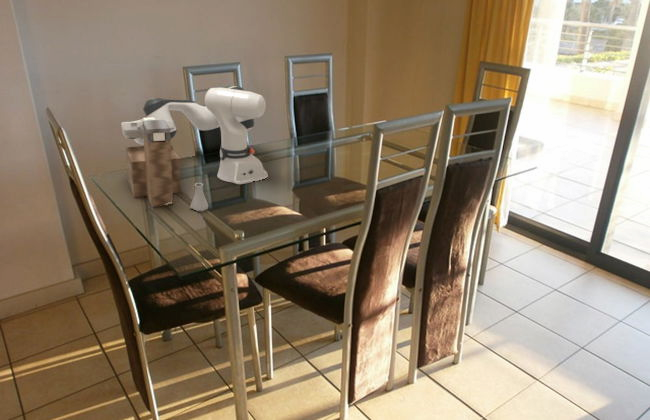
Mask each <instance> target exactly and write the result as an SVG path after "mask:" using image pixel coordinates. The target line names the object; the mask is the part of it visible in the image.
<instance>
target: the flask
mask: <svg viewBox="0 0 650 420" xmlns="http://www.w3.org/2000/svg"><path fill="white" fill-rule="evenodd" d="M194 187H195V188H194V189H195V191H194V195H193V197H192V200H191V202H190V206H189V209H190V208H193V209H194V210H196V211H195V212H204V211H206V210H208V209H209V203H208V202H207V201H208V200H207V199H206V196H205V194H204V190H203V187H204V184H203V183H201V182H196V183H194ZM194 210H193V211H194Z"/></svg>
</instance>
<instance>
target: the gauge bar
mask: <svg viewBox="0 0 650 420" xmlns="http://www.w3.org/2000/svg"><path fill="white" fill-rule="evenodd" d="M142 119H143V121H149V120H155V118H154V117H152V118H147V117H143V118H142ZM152 135H153V141H163V140H165V133H152Z"/></svg>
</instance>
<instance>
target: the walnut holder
mask: <svg viewBox="0 0 650 420" xmlns="http://www.w3.org/2000/svg"><path fill="white" fill-rule="evenodd" d="M143 131H144V134H143V136H144V145H140V146H125V156H126V171H127V182H128V184H129V187H130V190H131V192H132V196H133V198H140V197H147V199H148V201H149V203H150V206H151V208H153V207H155V208H156V207H163V205H164V204H166V203H168V202H171V201H173V200H174V196H173V194H179V193H181V179H180V177H181V176H180V175H181V174H180V173H181V172H180V168H181V167H180V157H179V155H178V154H177V153H176V151H175V149H174V147H173V146H172V143H171V139H170V127H169V126H168V124H167V123H166V121H165V120H149V121H143ZM152 133H165V140H163V141H153V135H152Z"/></svg>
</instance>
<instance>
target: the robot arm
mask: <svg viewBox="0 0 650 420" xmlns="http://www.w3.org/2000/svg"><path fill="white" fill-rule="evenodd" d="M204 104H205V106H204V105H200V104H198V103H197V102H196V101H194V100H187V99H170V98H169V99H165V98H162V97H160V98H159V97H157V98H156V97H155V98H150V99H148V100H146V101H145V103H144V105H143V109H142V110H143V112H144V114H145V116H146V118H152V117H154V118H155V120H165V121H166V123H167V124H168V126H169V127H170V140H172V139H173V138H174V137H175V136H176V134H177V132H178V131H177V127H176V124H175V121H174V120H173V117H172V116H171V112H170V111H179V112H181V113H183V114H184V115H185V117H186V118H187V119H188V120H189V121H190V123H191V125H192V126H193V127H195V128H196V129H197V130H199V131H210V130H214V129H218V128H219V129H220V136H221V137H220V139H221V144H220V145H219V146H220V149H219V157H220V162H219V168H218V171H217V175H216V176H217V178H218V179H219V180H221V181H224V182H227V183H233V184H236V185H243V184H249V183H250V184H251V183H254V182H253V181H255V182H259V180H260V181H263V180H262V179H265V178H267V177H268V178H269V175H268V174H269V173H268V171H266V170H265V168H264V167H263V166H264V165H263V162H261V161H260V159H259V158H258V157H256V156H255V155H254V154H255V152H256V151H255V150H254V149H253V148H252V147H251V146H250V145H248V132H249V131H250V130H252V129H253V128H254V126H255V120H254V119H259V118H262V116H263V115H264V114H265V112H266V107H267V106H266V105H267V103H266V100H265V98H264V96H263V95H262V94H258V93H256V92H253V91H249V90H246V89H244V88H243V87H241V86H239V85H238V86H235V85H234V86H233V85H232V86H229V87H211V88H209V89H208V90H207V91H206V93H205V95H204ZM120 125H121V131H122V135H123V136H124V138H125V139H127V140H128V139H129V140H130V139H131V140H134V142H135V143H137V144H139V145H140V146H144V136H143V134H144V131H143V118H141V119H138V120H134V121H123V122H121V124H120ZM268 178H267V179H268ZM265 180H266V179H265Z"/></svg>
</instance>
